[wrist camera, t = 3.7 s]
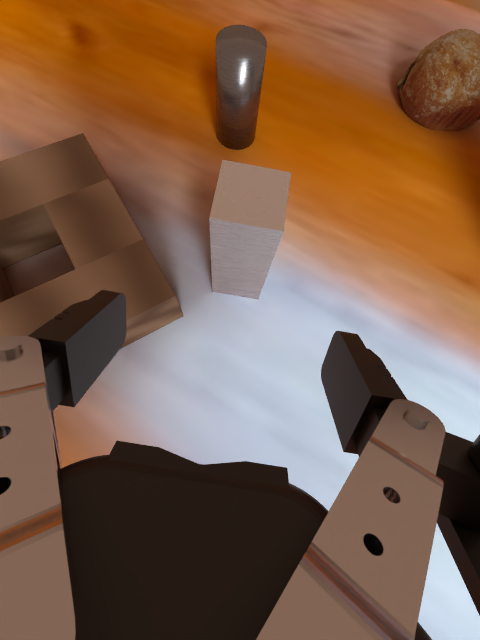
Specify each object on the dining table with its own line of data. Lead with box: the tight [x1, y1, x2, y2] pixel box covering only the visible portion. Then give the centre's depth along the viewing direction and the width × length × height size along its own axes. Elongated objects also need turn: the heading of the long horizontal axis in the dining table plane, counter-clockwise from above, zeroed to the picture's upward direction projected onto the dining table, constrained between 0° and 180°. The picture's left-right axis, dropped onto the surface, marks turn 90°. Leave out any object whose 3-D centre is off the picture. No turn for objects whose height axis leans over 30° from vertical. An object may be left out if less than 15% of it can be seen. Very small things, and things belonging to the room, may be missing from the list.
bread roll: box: [398, 29, 480, 131], centre depth 32 cm, size 10×10×8 cm
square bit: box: [209, 160, 291, 299], centre depth 21 cm, size 4×4×10 cm
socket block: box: [0, 134, 183, 349], centre depth 22 cm, size 16×16×4 cm
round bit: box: [216, 25, 267, 150], centre depth 26 cm, size 4×4×8 cm
